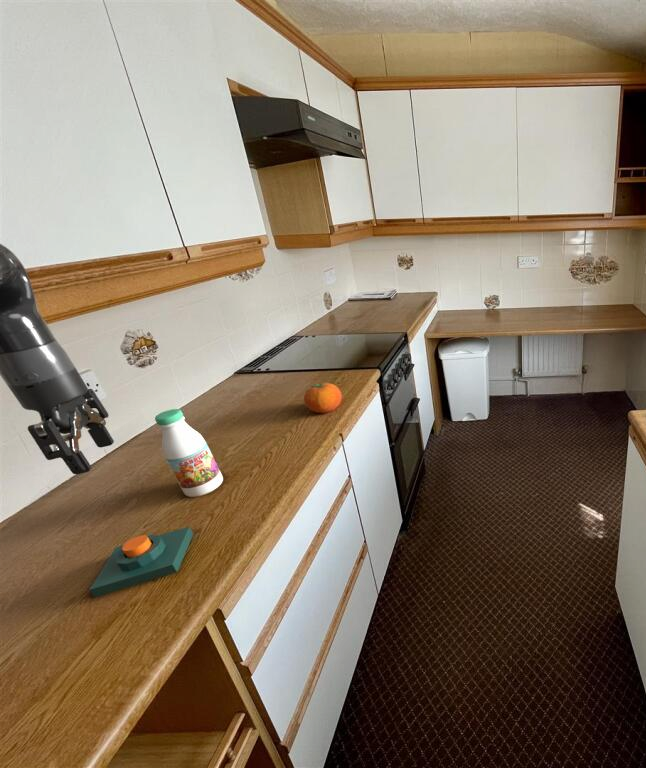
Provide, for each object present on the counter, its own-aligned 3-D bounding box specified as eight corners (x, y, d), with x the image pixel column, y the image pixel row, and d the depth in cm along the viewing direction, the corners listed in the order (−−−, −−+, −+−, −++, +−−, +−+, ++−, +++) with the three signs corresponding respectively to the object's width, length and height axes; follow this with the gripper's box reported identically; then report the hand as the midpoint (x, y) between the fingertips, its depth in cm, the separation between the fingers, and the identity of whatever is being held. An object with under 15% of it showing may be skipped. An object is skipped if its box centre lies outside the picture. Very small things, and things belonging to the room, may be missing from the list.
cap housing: (95, 598, 70) (83, 582, 68) (121, 555, 78) (110, 540, 76) (178, 573, 73) (168, 557, 71) (194, 534, 82) (185, 519, 80)
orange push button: (123, 560, 72) (118, 553, 71) (131, 546, 75) (127, 539, 74) (147, 553, 73) (143, 546, 72) (154, 539, 76) (150, 532, 75)
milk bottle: (176, 495, 93) (135, 421, 85) (208, 474, 100) (172, 403, 91) (201, 500, 91) (161, 424, 82) (231, 478, 98) (197, 406, 89)
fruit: (349, 409, 126) (342, 386, 122) (314, 421, 120) (306, 398, 116) (337, 398, 133) (331, 376, 130) (304, 409, 128) (297, 386, 124)
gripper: (37, 363, 68) (88, 443, 75) (-25, 397, 56) (43, 489, 63) (93, 353, 70) (138, 432, 77) (45, 385, 58) (103, 475, 65)
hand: (95, 458), depth 70 cm, fingers open, 8 cm apart
